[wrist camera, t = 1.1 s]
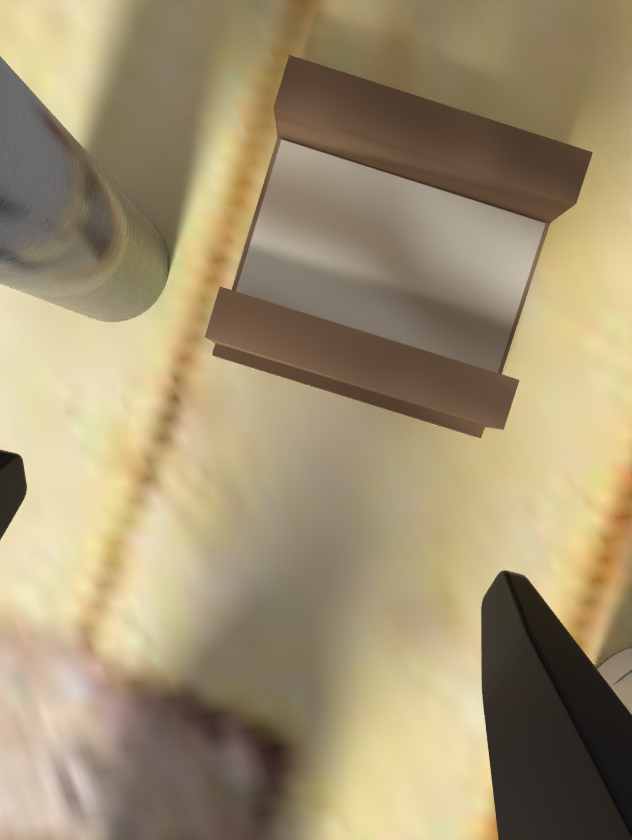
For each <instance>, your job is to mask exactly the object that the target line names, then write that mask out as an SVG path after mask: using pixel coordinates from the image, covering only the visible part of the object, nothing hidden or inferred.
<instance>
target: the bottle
mask: <svg viewBox="0 0 632 840" xmlns="http://www.w3.org/2000/svg"><path fill="white" fill-rule="evenodd" d="M168 271H169V260H168V253H167V249H166V246H165V243H164V241H163V239H162V237H161V235H160V233H159V232H158V230H157V229H156V228H155V227H154V226H153V224H152V223H151V222H150V221H149V220H148V219H147V218H146V217H145V216H144V214H143V213H142V212H141V211H140V210H139V209H138V208H137V207H136V206H135V205H134V203H133V202H132V201H131V200H130V199H129V198H128V197H127V196H126V195H125V193H124V192H123V191H122V190H121V189H120V188H119V187H118V186H117V185H116V184H115V182H114V181H113V180H112V179H111V178H110V177H109V176H108V175H107V174H106V173H105V171H104V170H103V169H102V168H101V167H100V166H99V165H98V164H97V163H96V161H95V160H94V159H93V158H92V157H91V156H90V155H89V154H88V153H87V152H86V150H85V149H84V148H83V147H82V146H81V145H80V144H79V143H78V142H77V141H76V139H75V138H74V137H73V136H72V135H71V134H70V133H69V132H68V131H67V129H66V128H65V127H64V126H63V125H62V124H61V123H60V122H59V121H58V120H57V118H56V117H55V116H54V115H53V114H52V113H51V112H50V111H49V110H48V108H47V107H46V106H45V105H44V104H43V103H42V102H41V101H40V100H39V99H38V97H37V96H36V95H35V94H34V93H33V92H32V91H31V90H30V89H29V88H28V86H27V85H26V84H25V83H24V82H23V81H22V80H21V79H20V78H19V76H18V75H17V74H16V73H15V72H14V71H13V70H12V69H11V68H10V67H9V65H8V64H7V63H6V62H5V61H4V60H3V59H2V58H1V57H0V284H3V285H5V286H8V287H10V288H13V289H16V290H18V291H21V292H24V293H26V294H29V295H32V296H34V297H37V298H40V299H42V300H45V301H48V302H50V303H53V304H56V305H58V306H61V307H64V308H66V309H69V310H72V311H74V312H77V313H80V314H82V315H85V316H88V317H90V318H93V319H96V320H100V321H106V322H118V321H124V320H128V319H131V318H134V317H136V316H138V315H140V314H142V313H143V312H145V311H146V310H148V309H149V308H150V307H151V306H152V305H153V304H154V303H155V302H156V300H157V299H158V298H159V296H160V295H161V293H162V291H163V289H164V287H165V284H166V281H167V277H168Z"/></svg>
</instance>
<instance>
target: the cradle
mask: <svg viewBox="0 0 632 840" xmlns="http://www.w3.org/2000/svg"><path fill="white" fill-rule="evenodd" d="M274 112H275V120H276V128H277V135H278V138H277V141H276V144H275V148H274V151H273V154H272V158H271V161H270V164H269V167H268V171H267V174H266V177H265V181H264V184H263V187H262V191H261V194H260V197H259V201H258V204H257V207H256V211H255V214H254V217H253V221H252V224H251V227H250V231H249V234H248V237H247V241H246V244H245V247H244V251H243V254H242V257H241V261H240V264H239V267H238V270H237V274H236V277H235V280H234V284H233V287H232V290H229V289H226V288H223V287H220V288H219V291H218V295H217V298H216V301H215V305H214V308H213V311H212V315H211V318H210V321H209V325H208V328H207V331H206V335H205V337H206V338H207V339H209V340H211V341H212V342H214V343H216V344H215V347H214V350H213V354H212V355H214V356H216V357H219V358H222V359H226V360H229V361H232V362H235V363H239V364H242V365H245V366H248V367H252V368H255V369H258V370H261V371H264V372H268V373H271V374H274V375H277V376H281V377H284V378H287V379H290V380H294V381H297V382H300V383H303V384H306V385H310V386H313V387H316V388H319V389H323V390H326V391H329V392H332V393H336V394H339V395H342V396H345V397H348V398H352V399H355V400H358V401H361V402H365V403H368V404H371V405H374V406H378V407H381V408H384V409H387V410H390V411H394V412H397V413H400V414H403V415H407V416H410V417H413V418H416V419H420V420H423V421H426V422H429V423H432V424H436V425H439V426H442V427H445V428H449V429H452V430H455V431H458V432H462V433H465V434H468V435H471V436H474V437H479V438H481V436H482V433H483V430H484V427H489V428H496V429H502V430H503V429H504V426H505V423H506V420H507V417H508V414H509V411H510V408H511V404H512V401H513V398H514V395H515V392H516V389H517V386H518V383H519V380H518V379H515V378H511V377H508V376H505V375H502V371H503V368H504V365H505V361H506V358H507V355H508V352H509V349H510V346H511V343H512V340H513V337H514V333H515V330H516V327H517V324H518V321H519V318H520V315H521V312H522V308H523V305H524V302H525V299H526V296H527V293H528V290H529V287H530V283H531V280H532V277H533V274H534V271H535V268H536V265H537V262H538V258H539V255H540V252H541V249H542V246H543V243H544V240H545V237H546V233H547V230H548V227H549V224H550V223H551V222H552V221H553V220H555V219H556V218H557V217H559V216H560V215H561V214H563V213H564V212H565V211H567V210H568V209H569V208H571V207H572V206H573V205H575V204H576V202H577V199H578V196H579V193H580V190H581V187H582V184H583V181H584V177H585V174H586V171H587V168H588V165H589V162H590V159H591V156H592V153H593V152H590V151H587V150H584V149H581V148H577V147H574V146H571V145H568V144H565V143H562V142H559V141H556V140H552V139H549V138H546V137H543V136H540V135H537V134H534V133H531V132H527V131H524V130H521V129H518V128H515V127H512V126H509V125H506V124H503V123H499V122H496V121H493V120H490V119H487V118H484V117H481V116H478V115H474V114H471V113H468V112H465V111H462V110H459V109H456V108H453V107H450V106H446V105H443V104H440V103H437V102H434V101H431V100H428V99H425V98H421V97H418V96H415V95H412V94H409V93H406V92H403V91H400V90H396V89H393V88H390V87H387V86H384V85H381V84H378V83H375V82H372V81H368V80H365V79H362V78H359V77H356V76H353V75H350V74H347V73H343V72H340V71H337V70H334V69H331V68H328V67H325V66H322V65H319V64H315V63H312V62H309V61H306V60H303V59H300V58H297V57H294V56H290V55H289V58H288V62H287V65H286V68H285V72H284V75H283V78H282V82H281V85H280V88H279V92H278V95H277V98H276V102H275V105H274Z"/></svg>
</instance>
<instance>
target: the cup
mask: <svg viewBox="0 0 632 840" xmlns="http://www.w3.org/2000/svg"><path fill="white" fill-rule="evenodd" d="M597 670H598V671H599V672H600V674H601V675H602V676H603V678H604V679H605V680H606V682H607V683H608V684H609V685H610V687H611V688H612V689H613V691H614V692H615V693H616V695H617V696H618V697H619V698H620V700H621V701H622V702H623V704H624V705H625V706H626V708H627V709H628V710H629V711H630V713H631V714H632V648H629V649H626V650H624V651H621V652H619V653H617V654H615V655H614V656H612V657H611V658H609V659H608V660H606V661H605V662H604V663H603V664H602V665H601V666H600V667H599V668H598V669H597Z"/></svg>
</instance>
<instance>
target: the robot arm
mask: <svg viewBox="0 0 632 840" xmlns="http://www.w3.org/2000/svg"><path fill="white" fill-rule="evenodd" d="M26 491H27V484H26V478H25V471H24V464H23V459H22V457H21V456H20V455H19V454H17V453H12V452H8V451H4V450H0V540H1V538H2V536H3V535H4V533H5V531H6V529H7V528H8V526H9V524H10V523H11V521H12V519H13V517H14V516H15V514H16V512H17V510H18V509H19V507H20V505H21V504H22V502H23V500H24V498H25V495H26ZM481 652H482V695H483V706H484V715H485V723H486V732H487V741H488V750H489V759H490V768H491V777H492V785H493V794H494V803H495V812H496V821H497V830H498V839H499V840H632V714H631V713H630V711H629V710H628V709H627V708H626V706H625V705H624V704H623V702H622V701H621V700H620V698H619V697H618V696H617V695H616V693H615V692H614V691H613V689H612V688H611V687H610V685H609V684H608V683H607V682H606V680H605V679H604V678H603V676H602V675H601V674H600V672H599V671H598V670H597V668H596V667H595V666H594V665H593V663H592V662H591V661H590V659H589V658H588V657H587V655H586V654H585V653H584V652H583V650H582V649H581V648H580V646H579V645H578V644H577V642H576V641H575V640H574V638H573V637H572V636H571V635H570V633H569V632H568V631H567V629H566V628H565V627H564V625H563V624H562V623H561V622H560V620H559V619H558V618H557V616H556V615H555V614H554V612H553V611H552V610H551V609H550V607H549V606H548V605H547V603H546V602H545V601H544V599H543V598H542V597H541V595H540V594H539V593H538V592H537V590H536V589H535V588H534V586H533V585H532V584H531V582H530V581H529V580H528V579H527V578H526V577H525V576H524V575H522V574H518V573H514V572H510V571H501V572H500V573H499V574H498V575H497V577H496V578H495V580H494V582H493V583H492V585H491V586H490V588H489V589H488V591H487V593H486V594H485V596H484V598H483V601H482V607H481Z"/></svg>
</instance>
